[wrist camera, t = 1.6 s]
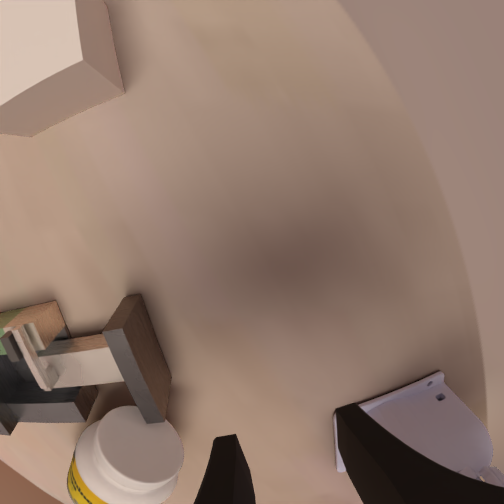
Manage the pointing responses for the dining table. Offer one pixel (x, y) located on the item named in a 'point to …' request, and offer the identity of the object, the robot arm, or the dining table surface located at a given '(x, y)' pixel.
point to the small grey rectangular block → (11, 347)
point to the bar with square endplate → (108, 359)
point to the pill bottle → (125, 460)
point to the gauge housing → (24, 383)
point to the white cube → (54, 62)
